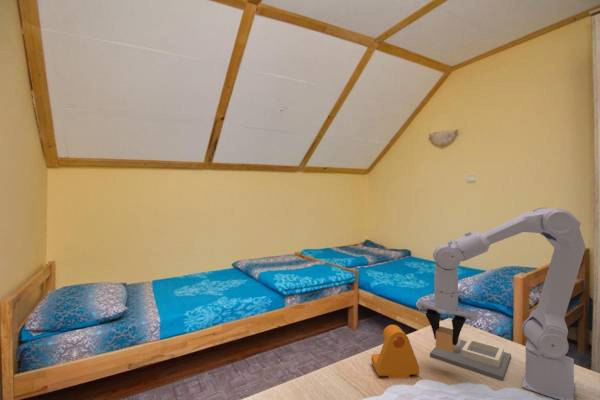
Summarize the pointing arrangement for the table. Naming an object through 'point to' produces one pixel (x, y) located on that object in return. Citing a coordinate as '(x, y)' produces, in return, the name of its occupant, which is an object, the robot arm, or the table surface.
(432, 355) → the board
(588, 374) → the table surface
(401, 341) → the bracket
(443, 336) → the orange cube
